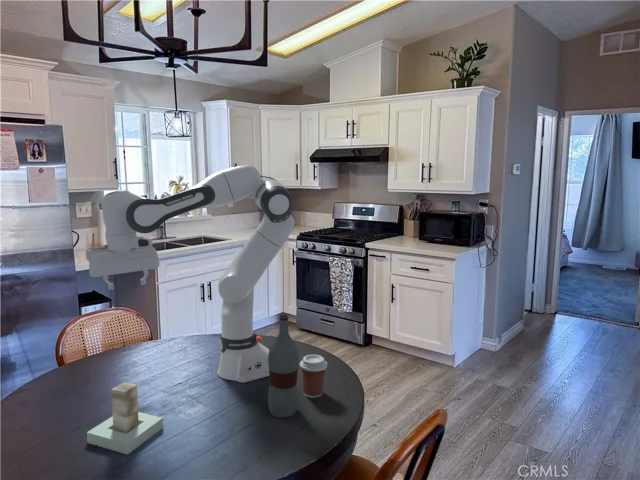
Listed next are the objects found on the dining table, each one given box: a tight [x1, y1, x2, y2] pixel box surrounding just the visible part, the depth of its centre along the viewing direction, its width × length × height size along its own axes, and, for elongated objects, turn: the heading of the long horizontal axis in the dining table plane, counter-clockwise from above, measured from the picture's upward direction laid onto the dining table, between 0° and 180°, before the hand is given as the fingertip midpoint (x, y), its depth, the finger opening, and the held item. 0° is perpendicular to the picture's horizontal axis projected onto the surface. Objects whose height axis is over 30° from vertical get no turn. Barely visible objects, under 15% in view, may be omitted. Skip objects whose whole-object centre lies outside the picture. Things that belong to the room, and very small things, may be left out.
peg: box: [110, 381, 139, 434], centre depth 125 cm, size 4×4×14 cm
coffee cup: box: [299, 354, 328, 399], centre depth 151 cm, size 9×9×12 cm
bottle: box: [267, 314, 300, 419], centre depth 138 cm, size 9×9×30 cm
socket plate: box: [86, 411, 164, 456], centre depth 126 cm, size 14×14×3 cm
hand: (127, 286), depth 144 cm, fingers open, 8 cm apart
